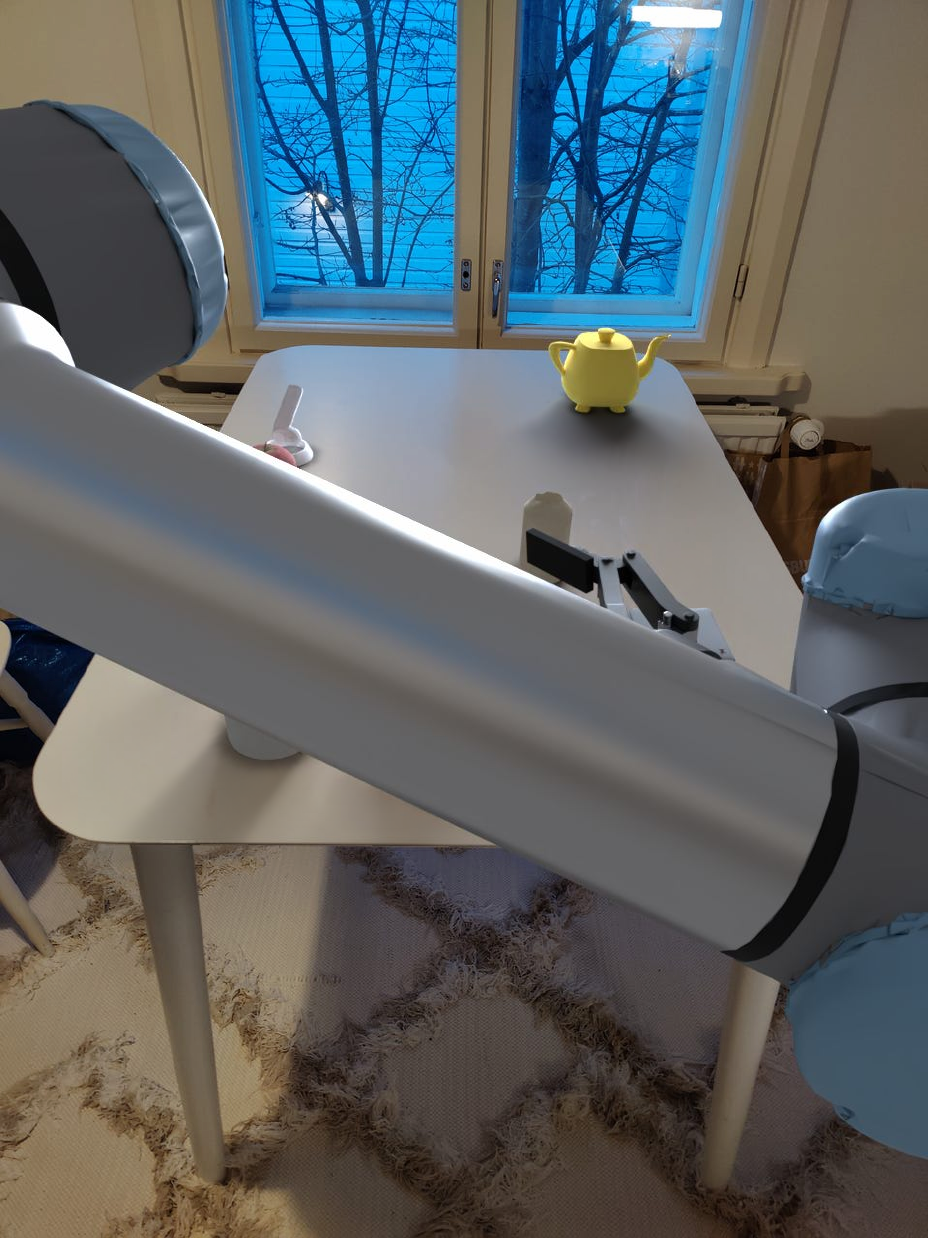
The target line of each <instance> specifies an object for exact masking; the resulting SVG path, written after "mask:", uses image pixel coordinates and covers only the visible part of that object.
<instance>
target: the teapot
mask: <svg viewBox="0 0 928 1238" xmlns="http://www.w3.org/2000/svg"><path fill="white" fill-rule="evenodd" d="M671 336H672V334H669V333H668V334H661V335H658V336H656V337H654V338H653V339H652V340H651V341H650V343H649V344H648V347H647V351H646V353H645V355H644V356H643V358H642V359H641V360H639V361H638V357H637V354H636V350H635V347H634V344H633V342H632V341H631V339H630V338H628V337H627V336H626V335H624V334H621V333H618V332H616V330H615V329H613V328H610V327H601V328H598V329H597V331H587V332H581V333H579V334H578V336H577V337H576V339H575V341H574V343H572V342H566V341H553V342H551V343H550V344H549V346H548V353H549V358H550V360H551V362H552V363H553V366H555V368H556V370H557V371H558V372H559V374H560V375H561V377H560V378H561V379H560V380H561V386H562V388H563V390H564V392H565V394H566V396H567V397H568V398H569V399H570V400H571V401H572V402H573V403H575V404H576V406H575V408H574V410H575V411H577V412H579V413H588V412H590V411H591V408H592V407H596V408H597V407H598V408H610V409H609V410H610V411H612V412H613V413H617V414H618V413H625V412H626V406H629V404H631V402H632V401H633V400H634V399H635V398H636V397H637V395H638V392H639V388H640V382H642V381H644V380H645V379H646V378H647V377H648V376H649V375H650V374H651V372H652V370H653V367H654V364H655V360H656V356H657V352H658V351H659V348H660V346H661V345H662V344H663V342H664V341H666V340H668V339H669V338H671ZM562 350H569V352H568V354H567V356H566V358H565V361H564V365H563V362H562V360H561V355H560V352H561V351H562Z"/></svg>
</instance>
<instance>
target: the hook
mask: <svg viewBox="0 0 928 1238" xmlns="http://www.w3.org/2000/svg"><path fill="white" fill-rule="evenodd" d="M303 393H304V390H303V388H302V387H301V386H299V385H297V384H293V383H290V384H289V385H288V386H287V388H286V391H285V394H284V395H283V399H282V401H281V404H280V407H279V410H278V412H277V415H276V417H275V420H274V423H273V427H272V432H271V438H272V439H270V440H269V441H266V442H267V444H276V445H279V446H281V447H297V448H301V449H302V450H300V451H297V452H294V453H291V455H292V456H293V457H294V459H295V461H296V465H297V467H299V466H303V465H305V464H307V463H309V462H310V461H312V459H313V457H314V452H313V449H312V448H311V446H310V445H309V443H308V442H307V441H305V440H304V439H302V434H301V432H300V431H299V429H297V428H295V427H292V425H293V421H294V419H295V416H296V413H297V410H298V407H299V404H301V403H300V402H301V399H302V396H303Z"/></svg>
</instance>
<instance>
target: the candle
mask: <svg viewBox="0 0 928 1238" xmlns="http://www.w3.org/2000/svg"><path fill="white" fill-rule="evenodd" d="M573 512H574V510H573V507H572V506H571V504H569V503H568V501H566V499H564V497H563V496H562V495H561V494H560V493H558V492H553V491H545V492H544V493H536V494H535V495H534V496H533V497H531V498H530V499H529V500H528V501H526V503H524V505H523V513H522V523H521V524H522V525H521V534H520V535H521V537H520V548H519V559H518V562H519V563H518V569H520V570H522V571H524V572H527V573H529V574H531V575H533V576H535V577H538V578H540V579H542V580H544V581H546V582H549V583H551V584H553V585H555V584H557V583H559V582H561V580H559V579H557V578H556V577H554V576H552V575H550V574H548V573H546V572H544V571H542V570H541V569H539V568H537V567H535V566H533V565H531V564H529V563H527V549H526V531H527V530H530V529H532V528H534V529H537V530H539V531H541V532H543V533H545V534H547V535H549V536H551V537H553V538H555V539H557V540H559V541H561V542H563V543H565V544H567V545H570V536H571V528H572V521H573Z"/></svg>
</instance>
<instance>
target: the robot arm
mask: <svg viewBox="0 0 928 1238" xmlns="http://www.w3.org/2000/svg"><path fill="white" fill-rule="evenodd" d="M224 256H225V249H224V244H223V239H222V237H221V233H220V230H219V227H218V224H217V221H216V218H215V216H214V214H213V211H212V208H211V207H210V205H209V203H208V201H207V199H206V197H205V196H204V193H203V191H202V190H201V188H200V187H199V185H198V183H197V181H196V180H195V179H194V177H193V175H192V174H191V172H190V171H189V170H188V169H187V167H186V166H185V164H184V163H183V161H182V160H181V159H180V158H179V157H178V156H177V155H176V154H175V152H173V150H172V149H171V148H170V146H168V145H167V144H166V143H165V142H164V141H163V140H161V138H159V137H158V136H157V135H156V134H154V133H153V132H152V131H151V130H149V129H148V127H146V126H144V124H141V123H140V122H138V121H137V120H135V119H133V118H131V117H130V116H128V115H126V114H124V113H122V112H119V111H116V110H114V109H111V108H108V107H104V106H100V105H95V104H82V103H80V104H79V103H78V104H77V103H75V104H74V103H73V104H72V103H71V104H68V103H65V102H62V101H59V100H49V99H38V100H37V99H36V100H31V101H29V102H26V103H23V105H22V106H18V107H8V108H0V609H1V610H4V611H6V612H8V613H10V614H12V615H14V616H16V617H18V618H20V619H23V620H24V621H27V622H29V623H30V624H33V625H35V626H37V627H39V628H41V629H43V630H46V631H47V632H49V633H51V634H54V635H56V636H58V637H60V638H62V639H64V640H66V641H68V642H70V643H72V644H75V645H77V646H79V647H81V648H83V649H85V650H88V651H90V652H91V653H94V654H96V655H98V656H100V657H102V658H103V659H105V660H108V661H110V662H112V663H115V664H117V665H118V666H121V667H123V668H125V669H127V670H129V671H132V672H133V673H135V674H137V675H139V676H142V677H143V678H146V679H147V680H150V681H152V682H154V683H156V684H159V685H160V686H162V687H165V688H167V689H168V690H171V691H173V692H175V693H177V694H179V695H182V696H183V697H186V698H188V699H190V700H192V701H194V702H196V703H198V704H200V705H202V706H205V707H207V708H208V709H211V710H213V711H215V712H217V713H219V714H221V715H223V716H224V715H225V716H227V717H229V718H232V719H234V720H236V721H238V722H240V723H242V724H244V725H246V726H248V727H250V728H252V729H255V730H257V731H259V732H261V733H263V734H265V735H267V736H269V737H271V738H273V739H275V740H278V741H280V742H282V743H284V744H286V745H288V746H290V747H292V748H294V749H296V750H298V751H300V753H303V754H305V755H307V756H309V757H311V758H313V759H316V760H317V761H320V762H322V763H324V764H325V765H328V766H329V767H332V768H335V769H336V770H338V771H341V772H342V773H345V774H346V775H349V776H351V777H353V778H355V779H357V780H359V781H362V782H363V783H365V784H367V785H370V786H372V787H374V788H376V789H379V790H380V791H382V792H384V793H386V794H387V795H391V796H392V797H395V798H396V799H399V800H401V801H403V802H405V803H407V804H409V805H411V806H414V807H415V808H418V809H420V810H422V811H424V812H426V813H428V814H430V815H432V816H435V817H437V818H439V819H441V820H443V821H445V822H448V823H449V824H451V825H454V826H455V827H457V828H460V829H462V830H464V831H466V832H467V833H470V834H472V835H474V836H477V837H479V838H481V839H483V840H485V841H487V842H489V843H491V844H492V845H495V846H497V847H499V848H502V849H504V850H506V851H508V852H509V853H512V854H514V855H517V857H520V858H522V859H525V861H528V862H531V863H533V864H535V865H537V866H539V867H541V868H543V869H546V870H547V871H550V872H552V873H553V874H555V875H558V876H560V877H562V878H563V879H567V880H568V881H570V882H573V883H574V884H577V885H578V886H581V887H583V888H585V889H587V890H589V891H591V892H593V893H595V894H598V895H600V896H602V897H604V898H606V899H608V900H610V901H612V902H614V903H617V904H618V905H621V906H622V907H625V908H627V909H628V910H631V911H633V912H635V913H638V914H639V915H642V916H643V917H646V918H648V919H650V920H652V921H654V922H656V923H658V924H660V925H662V926H664V927H667V928H669V929H670V930H673V931H675V932H677V933H679V934H681V935H683V936H685V937H688V938H689V939H692V940H694V941H696V942H698V943H700V944H702V945H705V946H706V947H709V948H710V949H713V950H714V951H717V952H719V953H721V954H724V955H726V956H728V957H730V958H732V959H733V960H734V961H735V962H737V963H739V964H741V965H743V966H744V967H747V968H749V969H750V970H753V971H755V972H757V973H760V974H762V975H764V976H766V977H769V978H770V979H773V980H774V981H776V982H778V983H780V984H782V985H783V986H785V987H787V989H788V990H789V991H788V993H787V995H786V999H785V1005H784V1015H785V1018H786V1020H787V1021H788V1022H790V1023H791V1028H792V1029H791V1030H792V1042H793V1043H792V1044H793V1053H794V1057H795V1060H796V1064H797V1067H798V1069H799V1071H800V1074H801V1076H802V1077H803V1078H804V1080H805V1081H806V1082H807V1083H808V1085H809V1087H810V1089H811V1090H812V1092H813V1093H814V1094H816V1095H818V1096H819V1097H821V1098H823V1099H824V1100H826V1101H827V1102H829V1103H830V1104H831V1105H832V1107H833V1109H834V1112H835V1114H836V1115H837V1116H838V1118H840V1119H841V1120H842V1121H844V1122H845V1123H846V1124H848V1125H849V1126H851V1127H852V1128H853V1129H854V1130H856V1131H858V1132H859V1133H861V1134H863V1135H865V1136H866V1137H868V1138H870V1139H871V1140H873V1141H875V1142H877V1143H880V1144H882V1145H884V1146H886V1147H889V1148H890V1149H893V1150H895V1151H896V1150H897V1151H899V1152H902V1153H904V1154H906V1155H909V1156H913V1157H918V1158H921V1159H925V1160H928V488H907V487H901V488H900V487H898V488H887V489H880V490H874V491H870V492H865V493H861V494H859V495H855V496H853V497H850V498H847V499H846V500H844V501H842V502H841V503H839V504H837V505H835V506H834V507H832V508H831V509H830V510H829V511H828V512H827V514H826V515H825V516H823V518H822V519H821V521H820V523H819V525H818V527H817V530H816V534H815V536H814V537H815V538H814V542H813V546H812V551H811V555H810V559H809V565H808V568H807V572H806V573H805V574H803V575H802V577H801V579H800V583H801V586H802V587H803V588H802V590H803V597H802V604H801V608H800V609H801V610H800V616H799V623H798V630H797V635H796V641H795V648H794V655H793V661H792V669H791V676H790V677H791V678H790V685H789V690H788V689H786V688H784V687H782V686H781V685H778V684H777V683H776V682H773V681H772V680H770V679H768V678H766V677H764V676H762V675H761V674H758V673H757V672H755V671H754V670H751V669H750V668H747V667H746V666H744V665H743V664H740V663H739V662H738V661H733V660H722V658H721V657H720V655H718V654H717V653H716V652H714V651H712V650H710V649H708V648H706V647H704V646H702V645H700V644H698V643H697V636H698V626H699V615H698V614H697V613H696V612H694V611H692V610H691V609H689V608H690V607H688V606H685V605H684V604H682V603H681V602H679V601H678V600H677V599H676V598H675V596H674V595H673V593H672V592H671V591H670V590H669V588H668V587H667V586H666V585H665V583H664V582H663V581H662V580H661V578H660V577H659V575H658V574H657V573H656V572H655V571H654V569H653V568H652V567H651V565H649V563H648V562H647V560H645V558H644V557H643V555H642V554H641V553H640V552H639V551H638V550H636V549H627V550H624V551H623V552H622V555H621V557H618V558H615V557H614V556H611V555H601V556H599V555H597V554H595V553H593V552H591V551H589V550H587V549H584V548H582V547H581V546H576V545H570V544H569V545H567V544H565V543H563V542H561V541H559V540H557V539H555V538H553V537H551V536H549V535H547V534H545V533H543V532H541V531H539V530H537V529H534V528H532V529H530V530H527V531H526V549H527V563H529V564H531V565H533V566H535V567H537V568H539V569H541V570H542V571H544V572H546V573H548V574H550V575H552V576H554V577H556V578H557V579H559V580H560V582H563V583H565V584H567V585H569V586H571V587H573V588H574V589H576V590H578V591H580V592H582V593H583V594H585V595H587V594H589V593H591V592H593V591H594V589H595V588H594V587H595V584H596V585H597V589H596V590H597V591H596V592H597V593H596V595H597V597H596V598H597V599H598V601H599V604H597V603H595V602H592V601H590V600H588V599H586V598H583V597H581V596H580V595H577V594H575V593H573V592H570V591H569V590H567V589H564V588H562V587H560V586H557V585H555V584H551V583H549V582H546V581H544V580H542V579H540V578H538V577H535V576H533V575H531V574H529V573H527V572H524V571H522V570H520V569H519V567H515V566H513V565H511V564H509V563H507V562H505V561H502V560H500V559H498V558H495V557H494V556H491V555H489V554H487V553H485V552H482V551H481V550H478V549H476V548H474V547H472V546H469V545H467V544H465V543H464V542H461V541H458V540H457V539H454V538H452V537H449V536H447V535H445V534H443V533H441V532H438V531H436V530H434V529H432V528H429V527H428V526H425V525H423V524H422V523H419V522H417V521H414V520H412V519H410V518H408V517H406V516H403V515H401V514H399V513H397V512H395V511H393V510H390V509H388V508H386V507H383V506H381V505H379V504H377V503H375V502H372V501H370V500H368V499H366V498H364V497H362V496H359V495H358V494H354V493H353V492H350V491H348V490H346V489H344V488H342V487H340V486H338V485H335V484H333V483H331V482H329V481H327V480H324V479H322V478H320V477H318V476H316V475H313V474H311V473H308V472H306V471H304V470H302V469H299V468H298V467H297V468H296V467H293V466H291V465H289V464H287V463H285V462H282V461H280V460H278V459H276V458H274V457H271V456H269V455H267V454H265V453H263V452H260V451H258V450H256V449H254V448H252V447H253V446H250V445H248V444H245V443H243V442H240V441H238V440H236V439H234V438H232V437H229V436H227V435H226V434H223V433H221V432H219V431H216V430H215V429H212V428H210V427H207V426H206V425H203V424H201V423H199V422H196V421H195V420H192V419H190V418H188V417H186V416H184V415H181V414H179V413H177V412H175V411H172V410H170V409H168V408H166V407H163V406H161V405H160V404H157V403H155V402H152V401H150V400H148V399H146V398H144V397H141V396H140V395H137V394H135V393H133V392H132V391H133V390H135V389H136V388H137V387H138V386H140V385H141V384H143V383H144V382H145V381H147V380H149V378H151V377H153V376H154V375H155V374H157V373H159V372H161V371H162V370H164V369H166V368H171V367H174V366H181V365H183V364H184V363H187V362H188V361H190V360H191V359H192V358H193V357H194V355H195V354H196V353H197V351H198V350H199V349H200V348H202V347H203V346H204V345H206V344H207V343H208V341H209V340H210V339H212V337H213V336H214V334H215V333H216V331H217V330H218V327H220V323H221V321H222V318H223V315H224V313H225V308H226V305H227V304H226V303H227V297H228V288H229V287H228V275H227V274H226V273H225V260H224ZM621 585H622V586H623V588H624V589H625V591H626V592H627V595H629V597H630V598H631V599H632V601H633V602H634V604H635V605H636V606H637V609H640V611H641V612H642V614H643V615H644V616H645V618H646V619H647V621H648V622H649V624H650V625H651V626H652V628H653V629H651V628H647V627H645V626H643V625H641V624H639V623H637V622H634V621H632V620H630V619H629V618H628V609H627V608H628V607H627V604H626V603H625V601H624V596H623V591H622V586H621Z"/></svg>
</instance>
